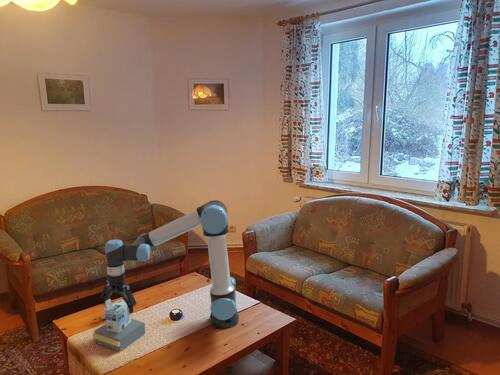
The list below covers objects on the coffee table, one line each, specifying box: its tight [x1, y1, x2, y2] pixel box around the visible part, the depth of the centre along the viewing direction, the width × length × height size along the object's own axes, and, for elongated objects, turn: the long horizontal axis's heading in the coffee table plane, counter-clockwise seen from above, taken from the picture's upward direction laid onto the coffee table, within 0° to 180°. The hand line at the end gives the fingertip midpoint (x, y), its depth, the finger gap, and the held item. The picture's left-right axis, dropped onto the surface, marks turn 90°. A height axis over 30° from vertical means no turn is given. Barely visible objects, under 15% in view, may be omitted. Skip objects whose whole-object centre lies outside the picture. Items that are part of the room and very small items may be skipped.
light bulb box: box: [104, 299, 131, 333], centre depth 178 cm, size 11×7×11 cm, turn 164°
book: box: [92, 318, 146, 352], centre depth 179 cm, size 16×17×6 cm
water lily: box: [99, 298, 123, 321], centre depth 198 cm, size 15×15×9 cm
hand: (119, 316), depth 178 cm, fingers open, 13 cm apart
